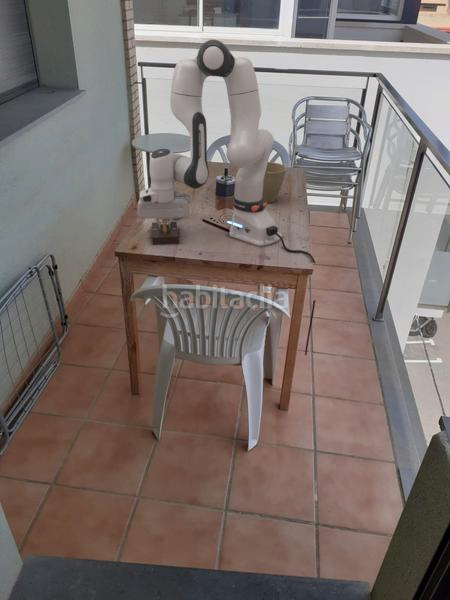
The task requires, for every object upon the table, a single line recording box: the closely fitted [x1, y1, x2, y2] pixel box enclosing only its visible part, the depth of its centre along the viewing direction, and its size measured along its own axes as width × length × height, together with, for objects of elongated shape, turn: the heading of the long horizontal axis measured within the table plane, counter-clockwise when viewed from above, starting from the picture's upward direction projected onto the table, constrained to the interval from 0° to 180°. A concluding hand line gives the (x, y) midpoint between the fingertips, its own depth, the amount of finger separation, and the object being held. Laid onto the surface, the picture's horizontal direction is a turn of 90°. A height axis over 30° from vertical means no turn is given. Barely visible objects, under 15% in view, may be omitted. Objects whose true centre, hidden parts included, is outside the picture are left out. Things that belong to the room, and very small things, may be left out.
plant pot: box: [262, 161, 287, 204], centre depth 217 cm, size 15×15×16 cm
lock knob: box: [161, 218, 167, 232], centre depth 185 cm, size 5×1×3 cm, turn 8°
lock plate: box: [151, 221, 180, 245], centre depth 186 cm, size 14×10×3 cm
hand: (164, 227), depth 185 cm, fingers closed on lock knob
